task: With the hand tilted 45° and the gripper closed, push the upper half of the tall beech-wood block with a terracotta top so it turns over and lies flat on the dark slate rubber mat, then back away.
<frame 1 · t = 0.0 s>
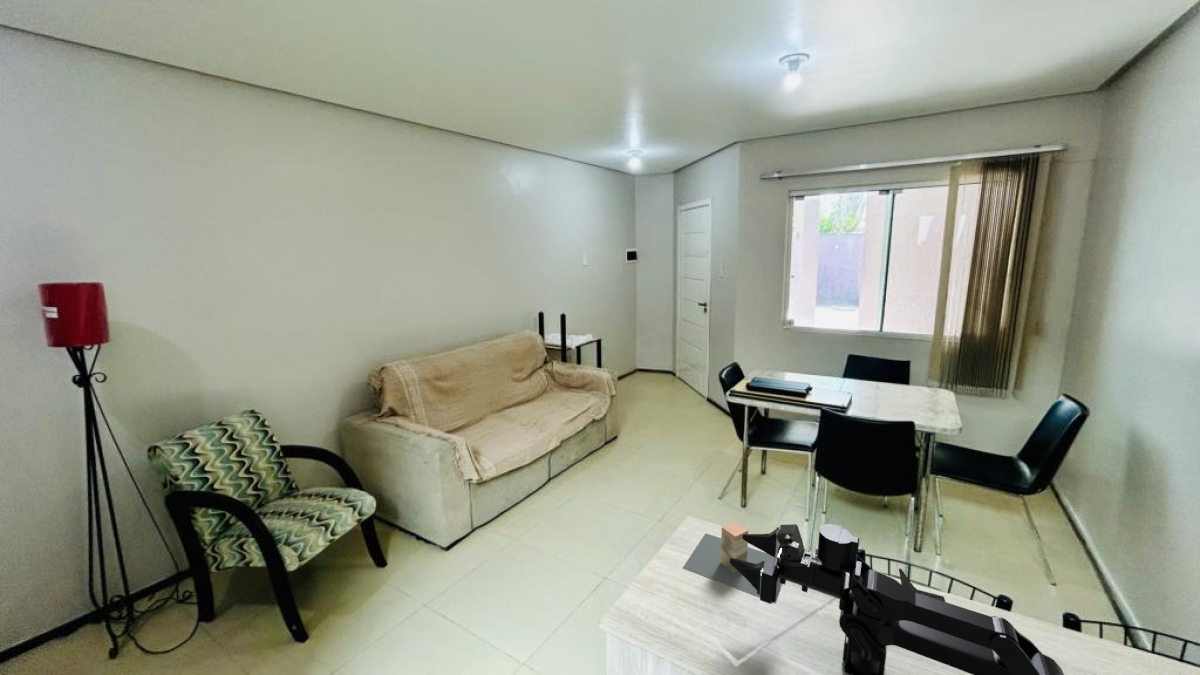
hand: (736, 548, 100), 17 cm above the table, tool horizontal, fingers open, 9 cm apart
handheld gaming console: (922, 610, 103), on the table
slate mat: (736, 567, 118), on the table
grey printed cube: (827, 565, 118), on the table
beech block: (733, 564, 118), point 1 cm above the table, touching slate mat
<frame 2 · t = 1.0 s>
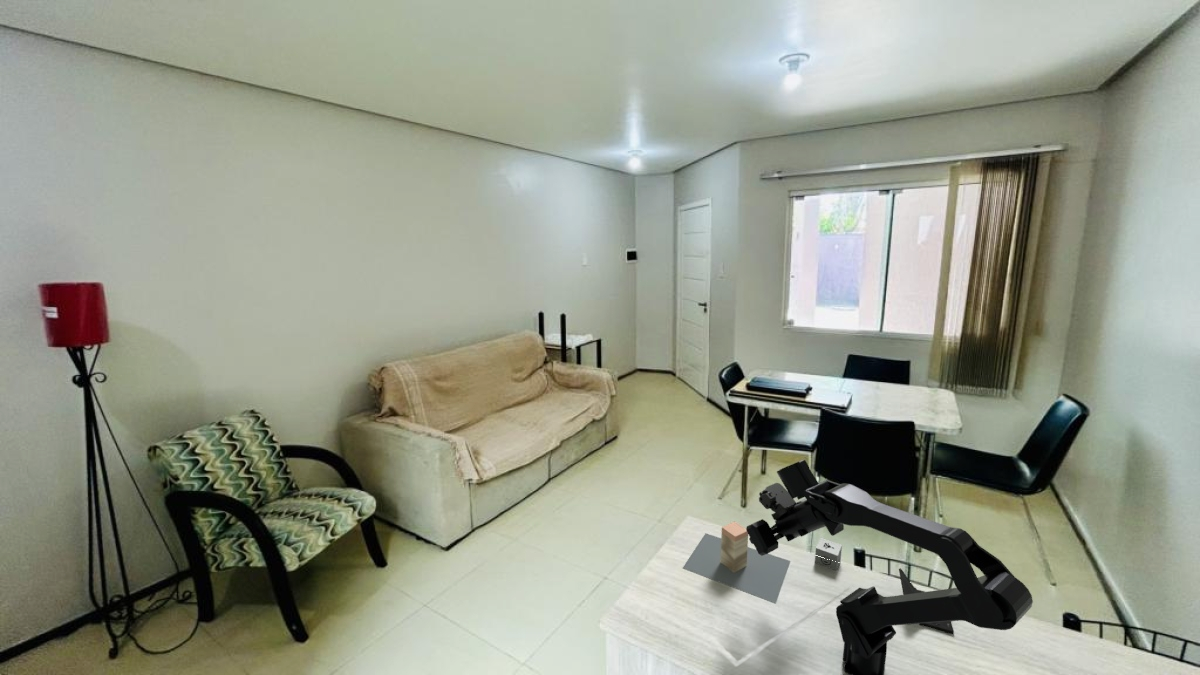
hand: (761, 535, 108), 14 cm above the table, tool tilted 45°, fingers open, 7 cm apart
nothing on the table moved.
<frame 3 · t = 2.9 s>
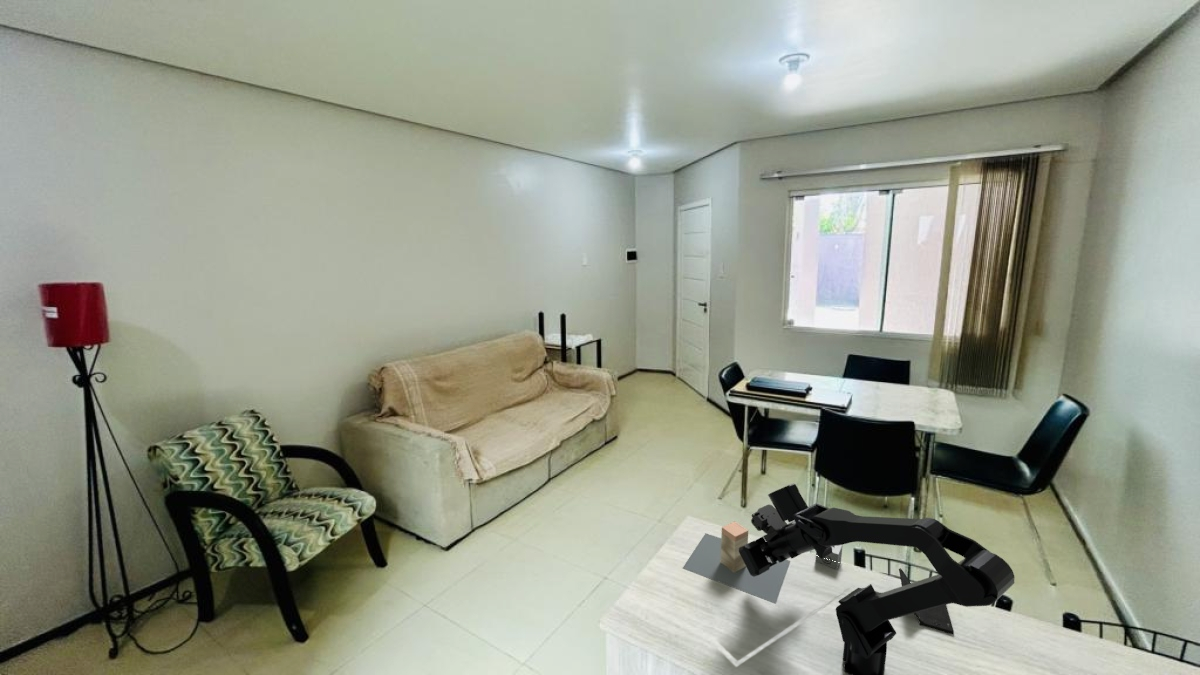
hand: (754, 555, 111), 7 cm above the table, tool tilted 45°, fingers closed
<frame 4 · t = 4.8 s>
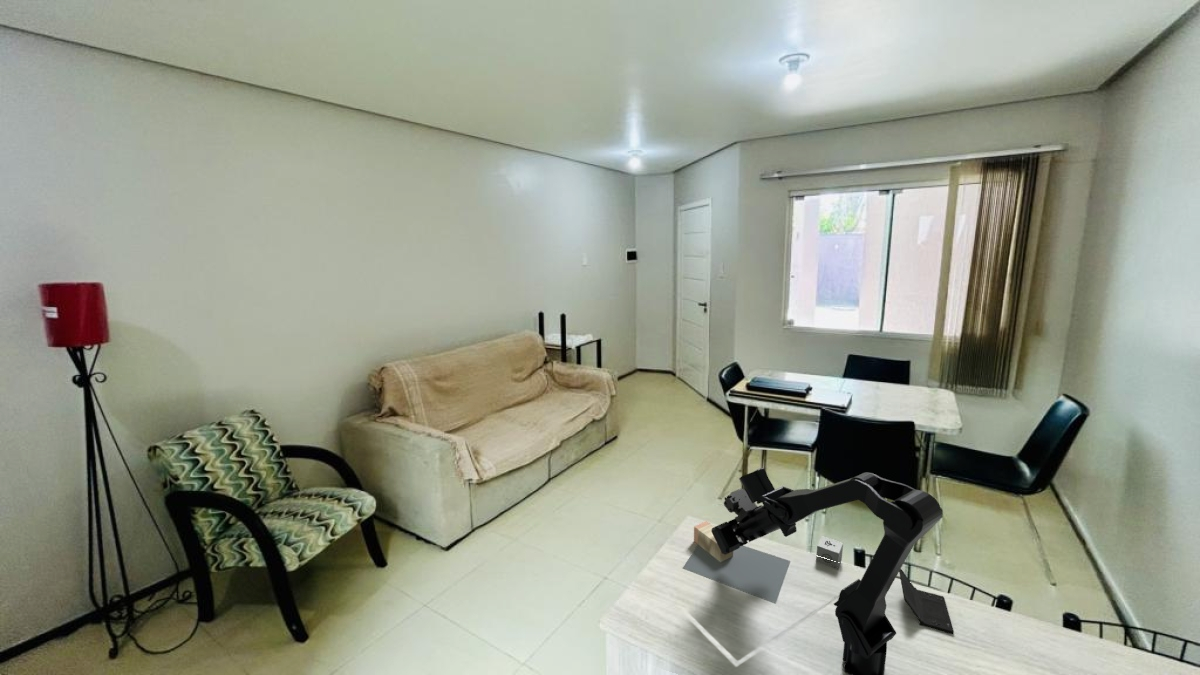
hand: (728, 536, 118), 7 cm above the table, tool tilted 45°, fingers closed
beech block: (727, 551, 119), point 3 cm above the table, tilted 90°, touching slate mat
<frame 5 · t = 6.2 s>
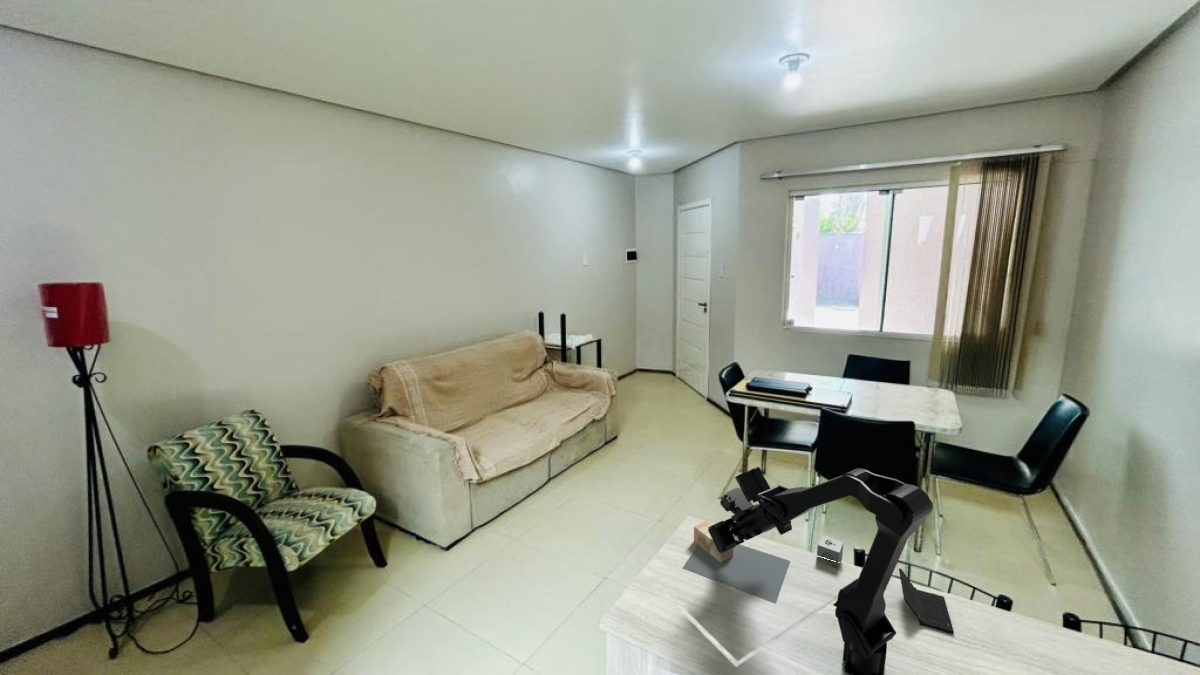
hand: (725, 535, 119), 7 cm above the table, tool tilted 45°, fingers closed
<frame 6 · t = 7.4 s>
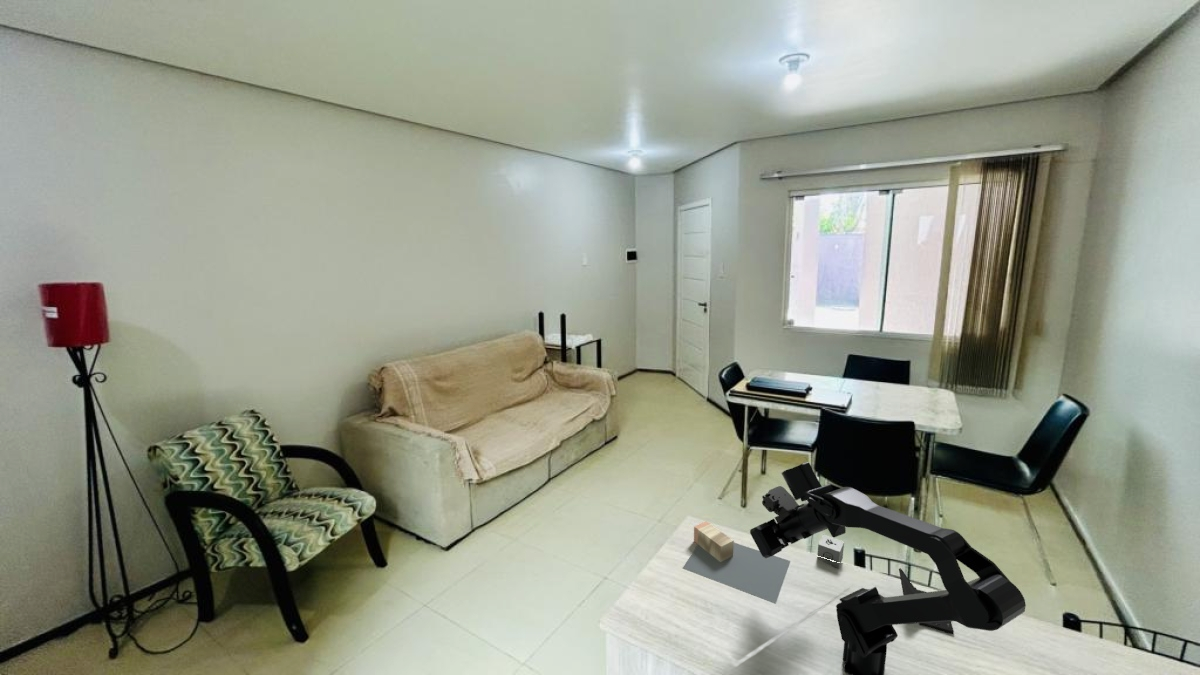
hand: (764, 538, 109), 12 cm above the table, tool tilted 45°, fingers closed
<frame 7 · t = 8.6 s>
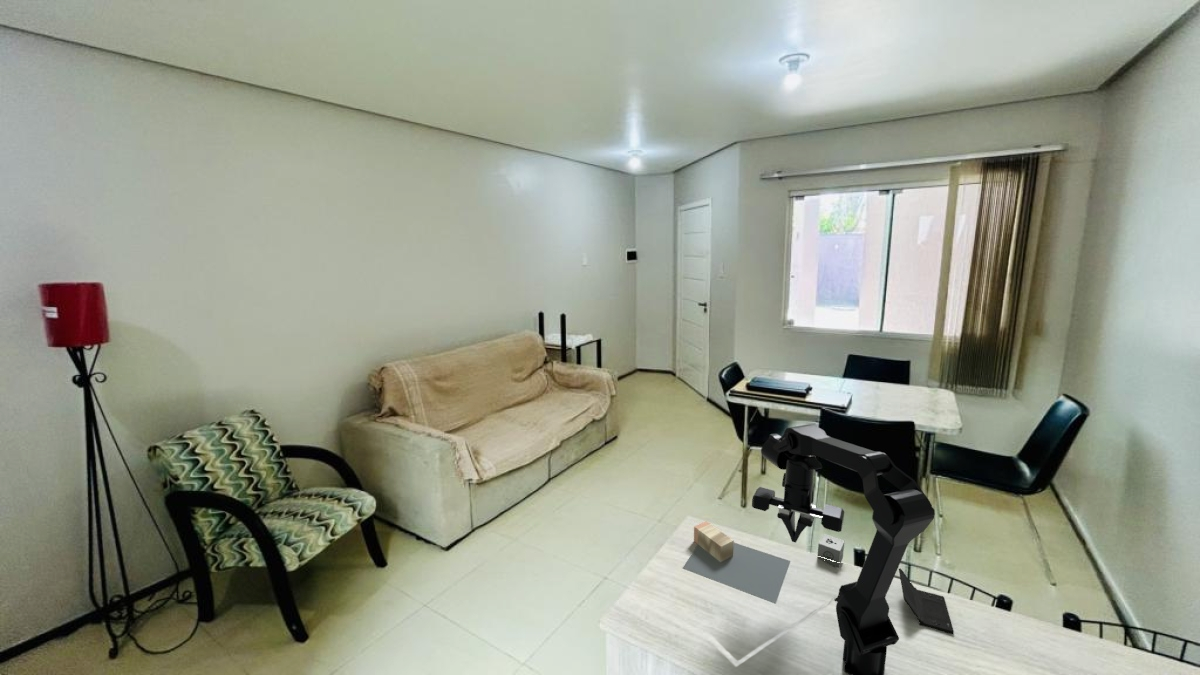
hand: (794, 541, 107), 13 cm above the table, tool pointing down, fingers closed
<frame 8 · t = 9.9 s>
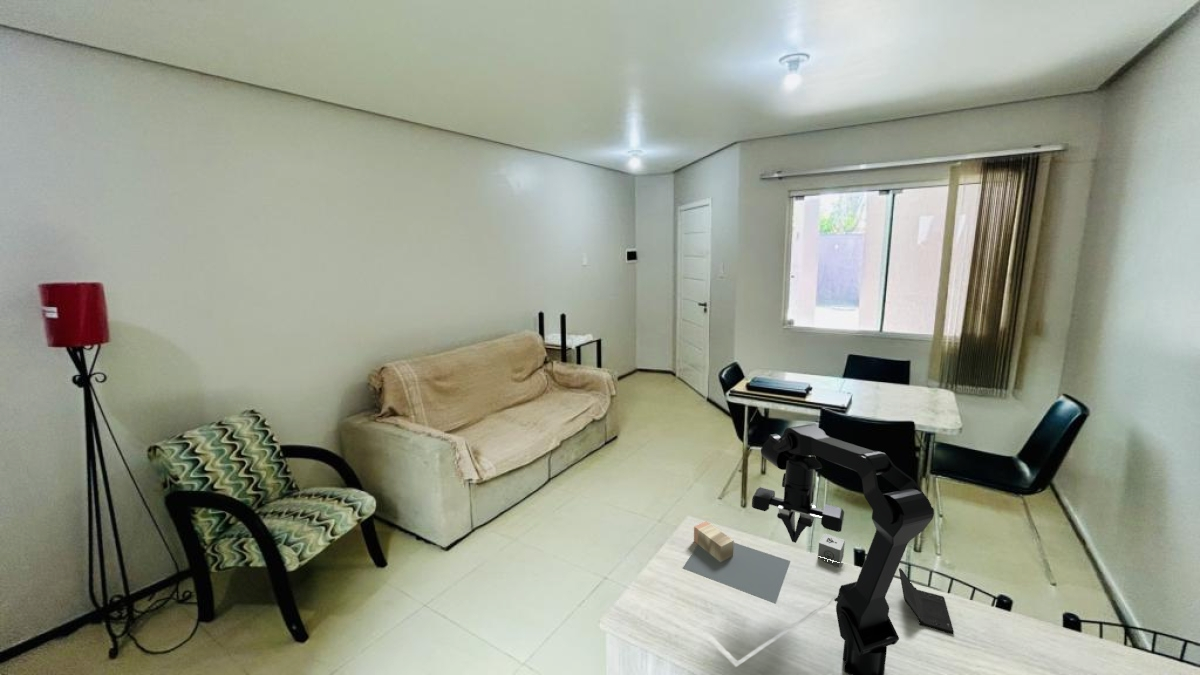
hand: (794, 541, 107), 13 cm above the table, tool pointing down, fingers closed
at the end: beech block tilted 90°; beech block inside the target area (1.6 cm from its centre), point 3.0 cm above the table; beech block touching slate mat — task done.
